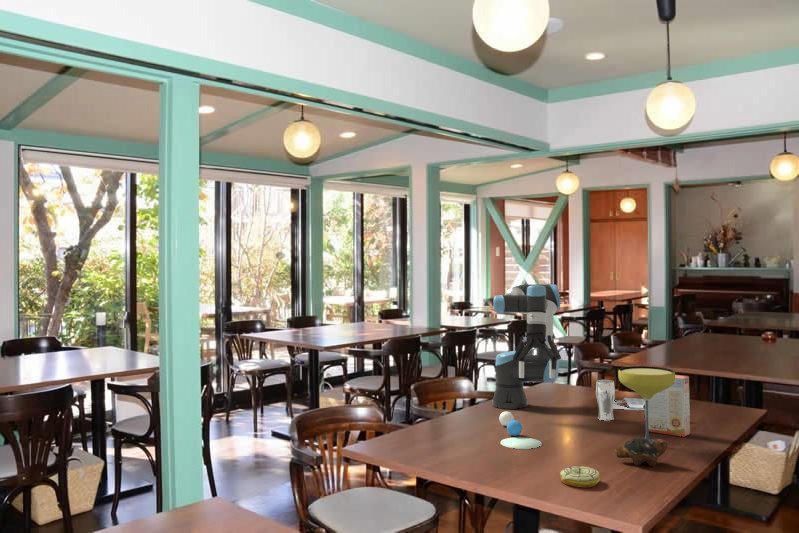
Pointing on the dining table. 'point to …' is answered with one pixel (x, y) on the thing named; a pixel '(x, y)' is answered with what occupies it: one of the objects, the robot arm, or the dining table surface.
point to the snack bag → (630, 404)
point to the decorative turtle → (642, 450)
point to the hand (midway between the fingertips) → (536, 378)
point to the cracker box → (670, 409)
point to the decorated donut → (580, 476)
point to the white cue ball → (505, 418)
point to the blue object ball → (514, 428)
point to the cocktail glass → (646, 382)
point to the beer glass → (605, 399)
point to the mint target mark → (521, 443)
